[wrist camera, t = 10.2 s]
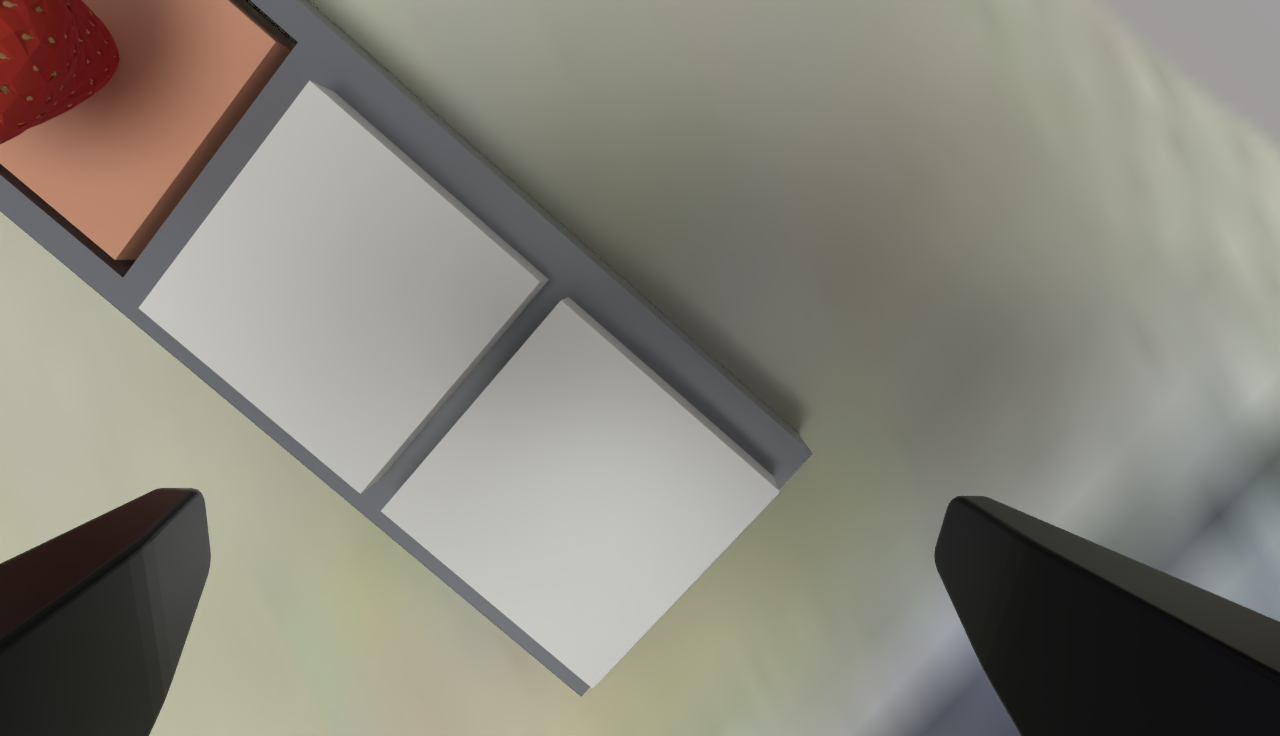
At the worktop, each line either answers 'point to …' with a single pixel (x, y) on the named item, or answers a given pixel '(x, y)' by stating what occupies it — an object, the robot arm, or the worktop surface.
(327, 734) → the worktop surface
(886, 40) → the worktop surface
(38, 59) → the fruit
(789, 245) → the worktop surface
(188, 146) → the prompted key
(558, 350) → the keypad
